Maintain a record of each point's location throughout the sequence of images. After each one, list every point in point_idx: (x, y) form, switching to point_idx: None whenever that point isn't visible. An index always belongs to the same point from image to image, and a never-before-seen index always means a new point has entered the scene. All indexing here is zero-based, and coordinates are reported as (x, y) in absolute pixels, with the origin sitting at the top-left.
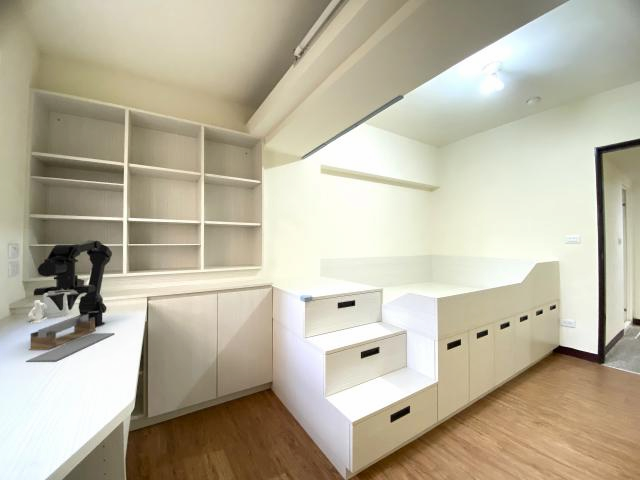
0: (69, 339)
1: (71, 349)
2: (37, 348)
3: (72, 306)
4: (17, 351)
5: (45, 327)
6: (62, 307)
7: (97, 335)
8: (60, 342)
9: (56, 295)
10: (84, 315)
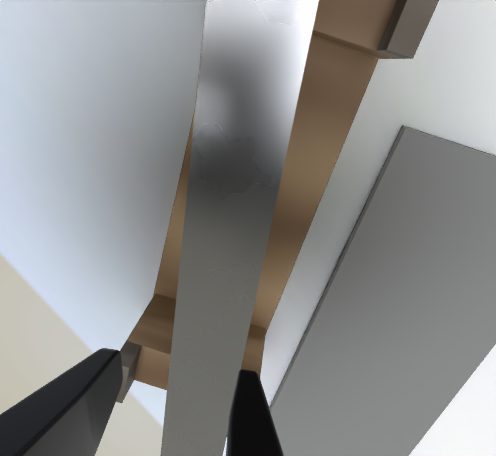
0: (294, 245)
1: (387, 417)
2: None
3: (268, 422)
4: (91, 302)
5: (166, 412)
6: (98, 398)
7: (473, 213)
8: (264, 286)
9: None
10: None
